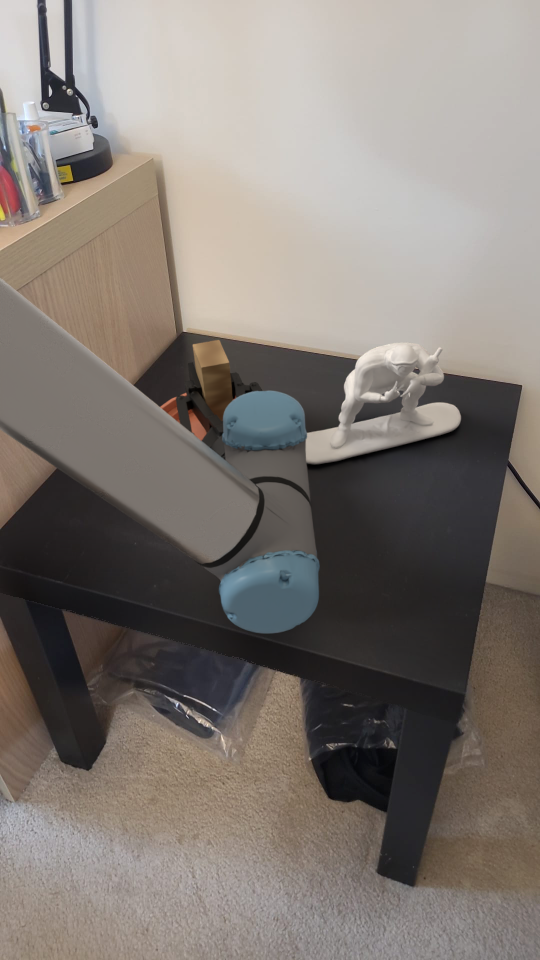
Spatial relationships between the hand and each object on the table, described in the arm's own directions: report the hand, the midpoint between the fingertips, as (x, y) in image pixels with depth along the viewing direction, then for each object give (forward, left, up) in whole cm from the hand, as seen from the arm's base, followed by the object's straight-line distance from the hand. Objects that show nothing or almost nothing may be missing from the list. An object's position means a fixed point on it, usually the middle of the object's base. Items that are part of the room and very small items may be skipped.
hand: (206, 368), depth 95 cm
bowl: (0, -6, -8) cm, 10 cm away
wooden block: (+1, -5, -7) cm, 9 cm away
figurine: (+23, -7, -8) cm, 25 cm away
